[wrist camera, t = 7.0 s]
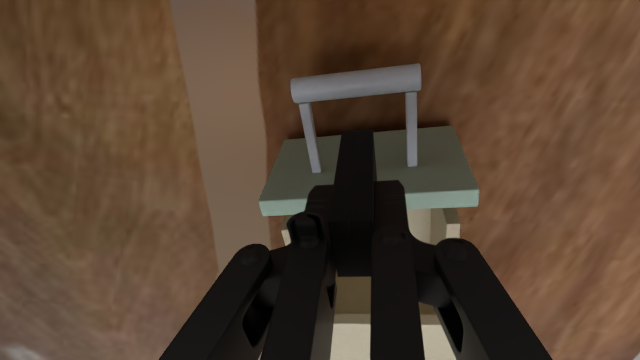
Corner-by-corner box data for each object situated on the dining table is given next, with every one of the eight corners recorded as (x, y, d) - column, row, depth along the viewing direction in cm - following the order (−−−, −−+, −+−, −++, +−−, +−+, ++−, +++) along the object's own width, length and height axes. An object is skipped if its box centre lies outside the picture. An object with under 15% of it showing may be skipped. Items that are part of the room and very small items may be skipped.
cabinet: (303, 233, 35) (282, 323, 27) (452, 228, 32) (479, 325, 24) (325, 325, 43) (314, 415, 35) (446, 326, 40) (464, 424, 32)
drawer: (264, 59, 25) (226, 105, 18) (458, 34, 22) (492, 76, 16) (312, 261, 35) (299, 334, 29) (446, 258, 33) (464, 337, 27)
